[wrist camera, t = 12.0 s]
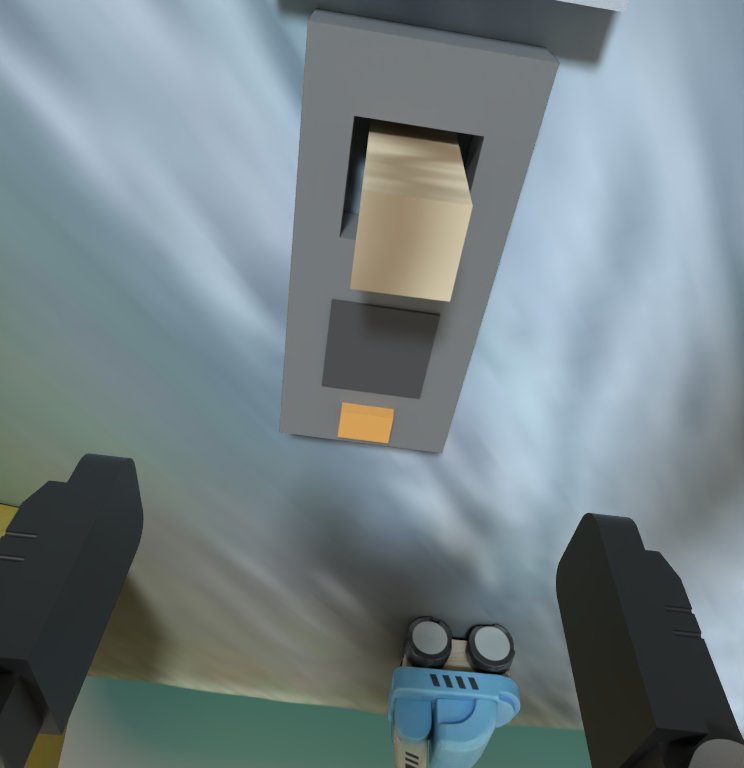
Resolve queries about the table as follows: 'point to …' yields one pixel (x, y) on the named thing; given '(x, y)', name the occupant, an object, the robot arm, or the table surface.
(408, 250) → the plug peg
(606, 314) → the table surface
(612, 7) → the tray
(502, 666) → the toy excavator
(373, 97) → the power strip
